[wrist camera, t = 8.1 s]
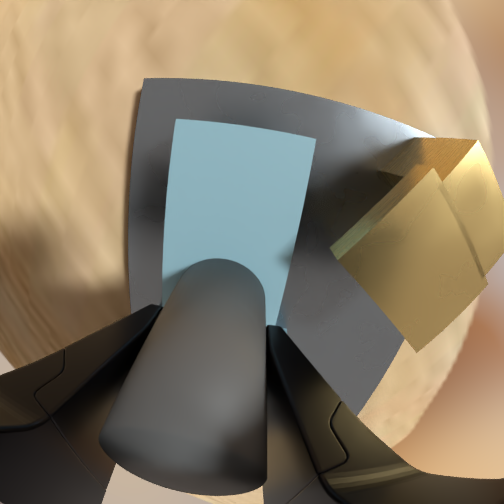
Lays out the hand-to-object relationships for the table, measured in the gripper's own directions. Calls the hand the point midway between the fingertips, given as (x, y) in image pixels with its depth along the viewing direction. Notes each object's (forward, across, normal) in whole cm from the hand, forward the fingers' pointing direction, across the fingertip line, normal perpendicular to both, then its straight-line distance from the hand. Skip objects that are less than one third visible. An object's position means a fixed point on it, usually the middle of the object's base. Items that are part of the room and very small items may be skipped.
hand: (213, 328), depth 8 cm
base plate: (+4, -3, +1) cm, 5 cm away
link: (+4, 0, +1) cm, 4 cm away
